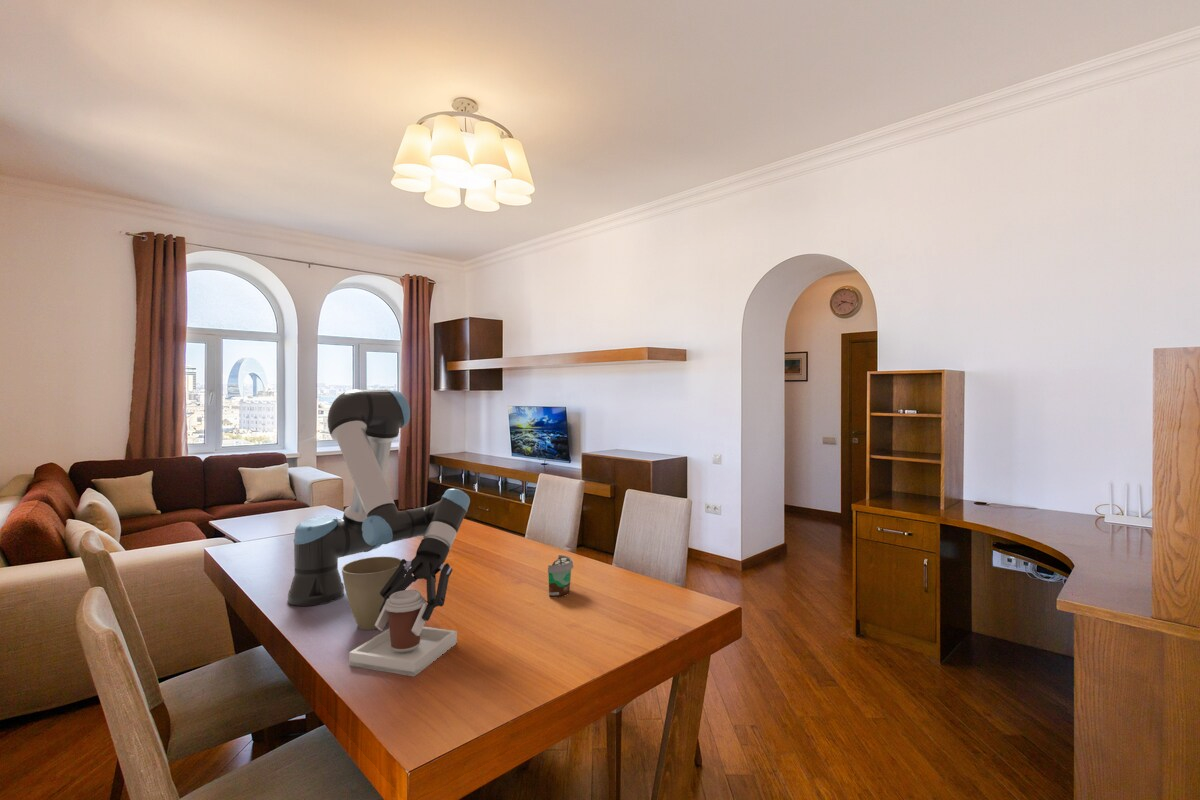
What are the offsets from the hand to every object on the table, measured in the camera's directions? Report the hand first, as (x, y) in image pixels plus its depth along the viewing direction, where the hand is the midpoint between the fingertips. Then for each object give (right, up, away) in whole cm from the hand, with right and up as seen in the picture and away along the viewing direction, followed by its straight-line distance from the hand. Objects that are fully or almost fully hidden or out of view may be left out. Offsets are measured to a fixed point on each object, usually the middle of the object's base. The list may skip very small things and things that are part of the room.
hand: (396, 630), depth 127 cm
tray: (+1, -7, +3) cm, 7 cm away
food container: (+35, -7, +44) cm, 57 cm away
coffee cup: (+1, -5, +3) cm, 6 cm away
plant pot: (-14, -7, +20) cm, 25 cm away
